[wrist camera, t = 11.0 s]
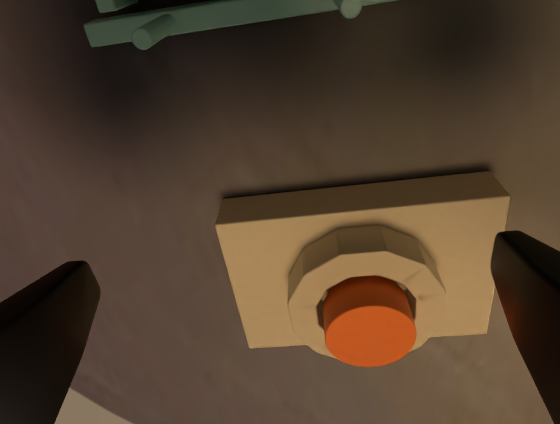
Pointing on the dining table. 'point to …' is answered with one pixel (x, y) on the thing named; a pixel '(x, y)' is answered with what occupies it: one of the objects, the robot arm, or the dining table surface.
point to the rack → (202, 17)
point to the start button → (368, 321)
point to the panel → (364, 253)
